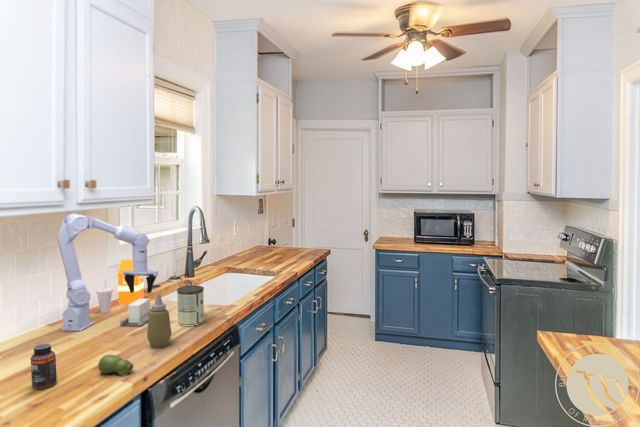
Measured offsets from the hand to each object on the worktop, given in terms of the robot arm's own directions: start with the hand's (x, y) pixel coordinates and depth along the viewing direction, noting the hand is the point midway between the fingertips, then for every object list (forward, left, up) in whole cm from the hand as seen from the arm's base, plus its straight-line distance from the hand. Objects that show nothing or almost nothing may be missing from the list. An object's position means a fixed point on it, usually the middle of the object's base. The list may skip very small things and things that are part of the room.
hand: (140, 292), depth 187 cm
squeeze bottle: (-34, -22, -10) cm, 42 cm away
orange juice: (+18, +13, -10) cm, 24 cm away
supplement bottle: (-65, -2, -10) cm, 66 cm away
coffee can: (-10, -25, -10) cm, 29 cm away
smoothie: (+2, +17, -10) cm, 20 cm away
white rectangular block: (-8, -3, -9) cm, 12 cm away
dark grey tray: (-8, -3, -9) cm, 13 cm away
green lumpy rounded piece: (-56, -18, -10) cm, 60 cm away
